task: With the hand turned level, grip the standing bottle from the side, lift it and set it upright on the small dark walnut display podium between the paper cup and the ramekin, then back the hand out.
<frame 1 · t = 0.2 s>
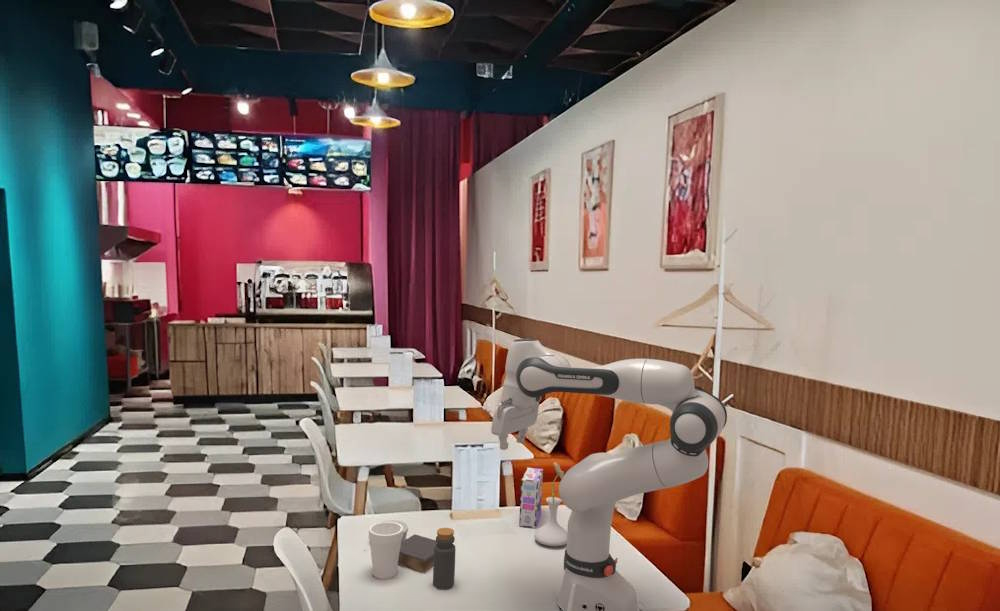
hand: (512, 445, 175), 39 cm above the table, tool pointing down, fingers open, 8 cm apart
ramekin: (389, 543, 198), on the table
bottle: (443, 584, 175), on the table
podium: (418, 559, 188), on the table
grey vase: (551, 541, 205), on the table
candy box: (530, 520, 221), on the table
foam cup: (384, 574, 179), on the table
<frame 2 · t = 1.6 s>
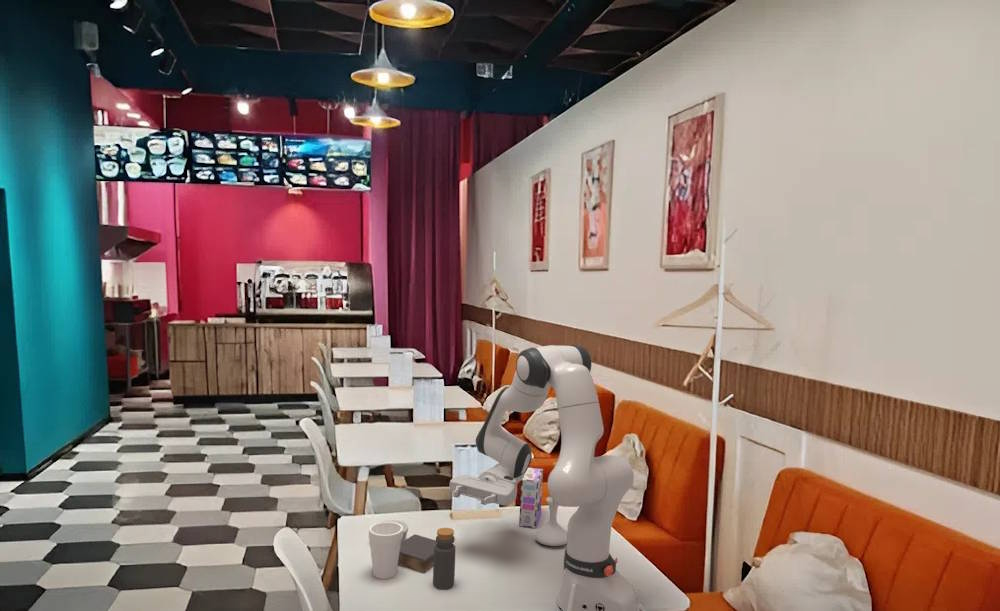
hand: (468, 498, 184), 20 cm above the table, tool horizontal, fingers open, 8 cm apart
nothing on the table moved.
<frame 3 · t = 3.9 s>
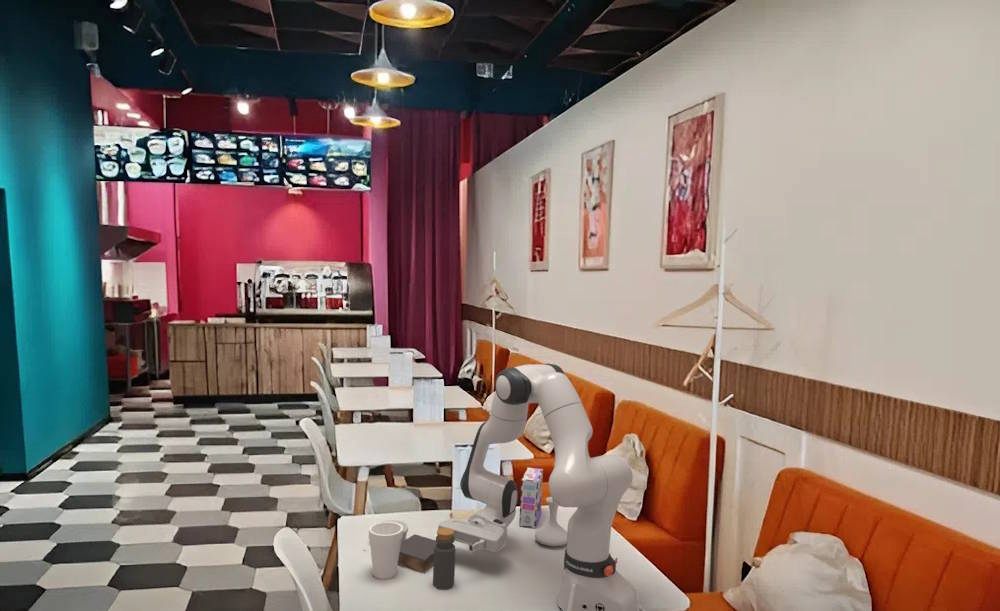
hand: (456, 544, 179), 9 cm above the table, tool horizontal, fingers open, 8 cm apart
nothing on the table moved.
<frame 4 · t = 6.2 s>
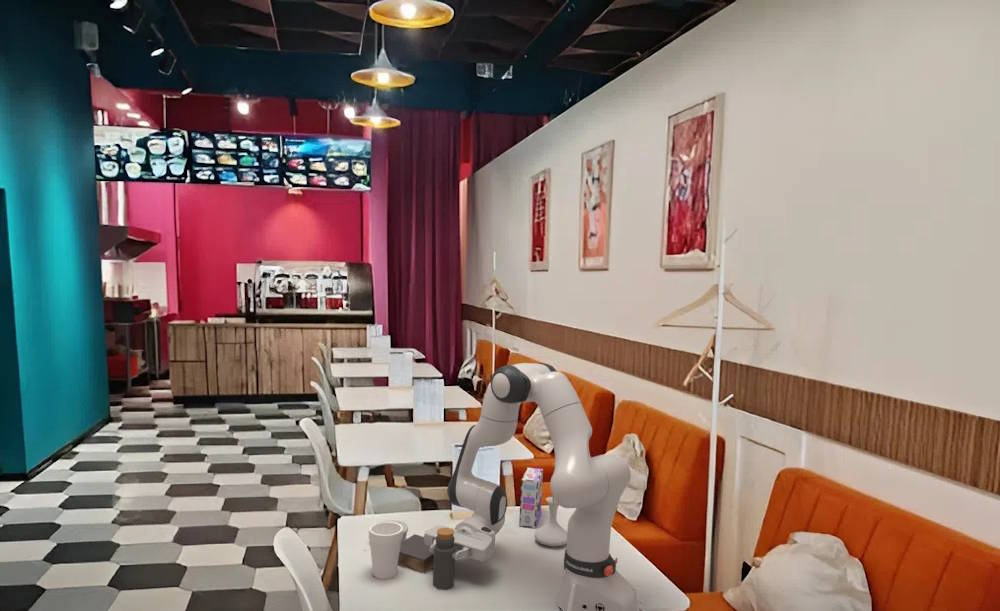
hand: (443, 553, 173), 9 cm above the table, tool horizontal, fingers closed on bottle, 6 cm apart
bottle: (443, 584, 175), on the table, touching gripper
everything else where it was.
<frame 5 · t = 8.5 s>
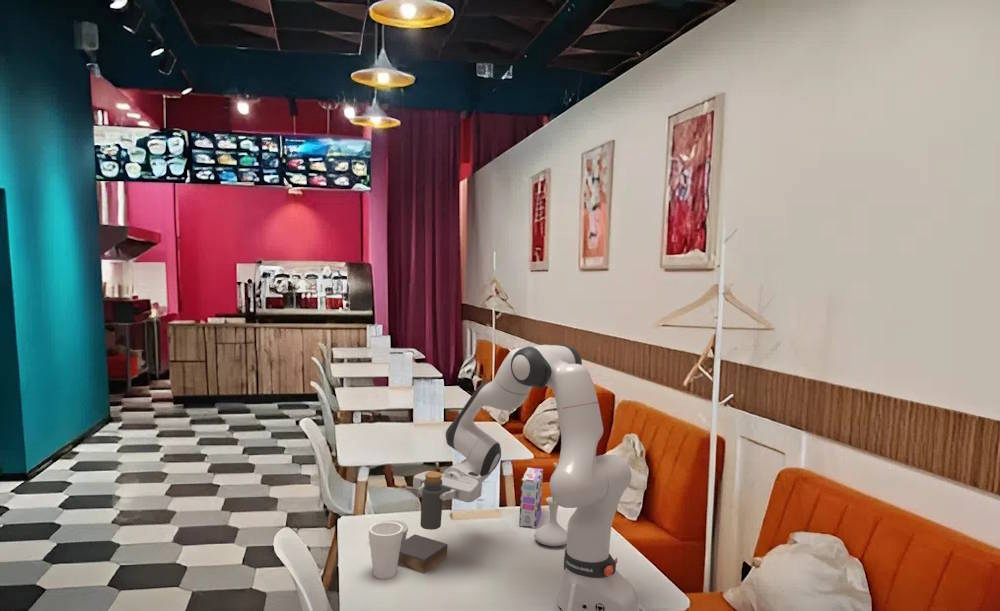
hand: (430, 494, 179), 23 cm above the table, tool horizontal, fingers closed on bottle, 6 cm apart
bottle: (430, 526, 181), point 13 cm above the table, touching gripper
everything else where it was.
when the fingers open (14 cm above the table, at t = 10.9 s): bottle drops 1 cm, resting on podium.
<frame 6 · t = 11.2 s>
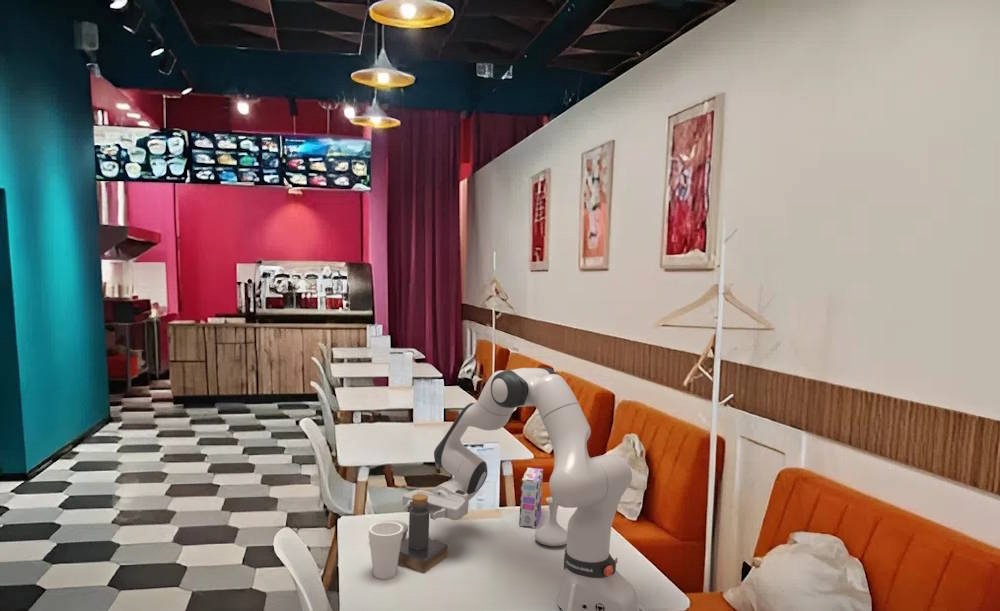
hand: (418, 512, 187), 14 cm above the table, tool horizontal, fingers open, 8 cm apart
bottle: (418, 546, 188), point 4 cm above the table, touching podium
everything else where it was.
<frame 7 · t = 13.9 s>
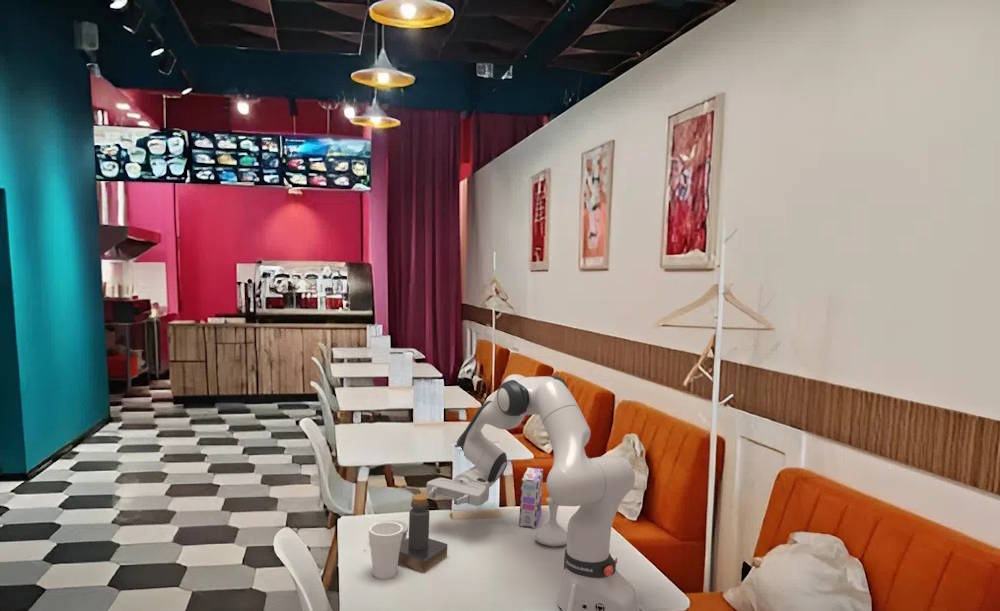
hand: (443, 498, 198), 15 cm above the table, tool horizontal, fingers open, 8 cm apart
nothing on the table moved.
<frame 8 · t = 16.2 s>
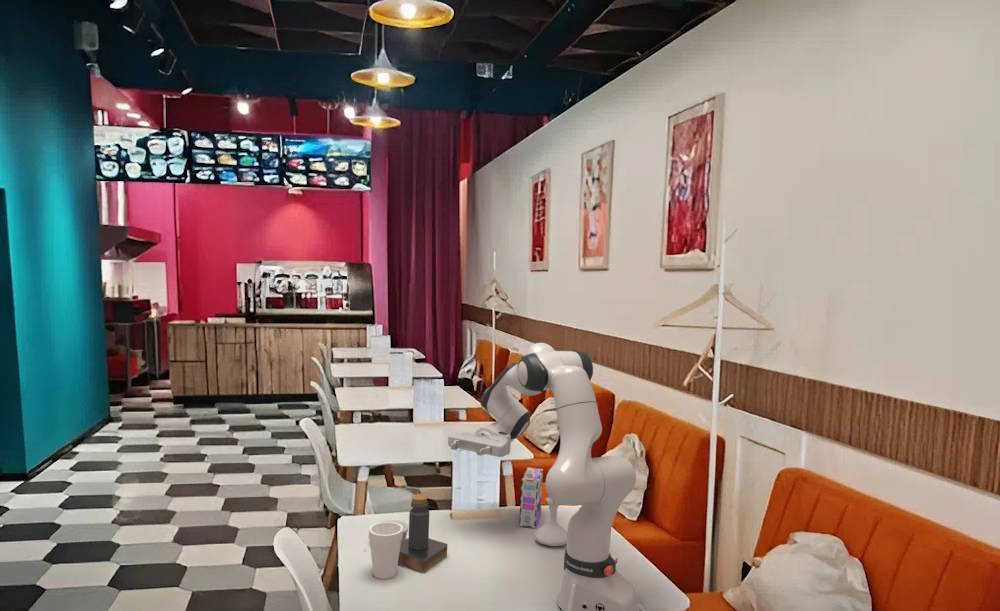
hand: (465, 449, 198), 30 cm above the table, tool horizontal, fingers open, 8 cm apart
nothing on the table moved.
at the end: bottle inside the target area on the podium (0.3 cm from its centre), point 3.8 cm above the podium's base; bottle tilted 0°; the gripper is holding nothing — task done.
